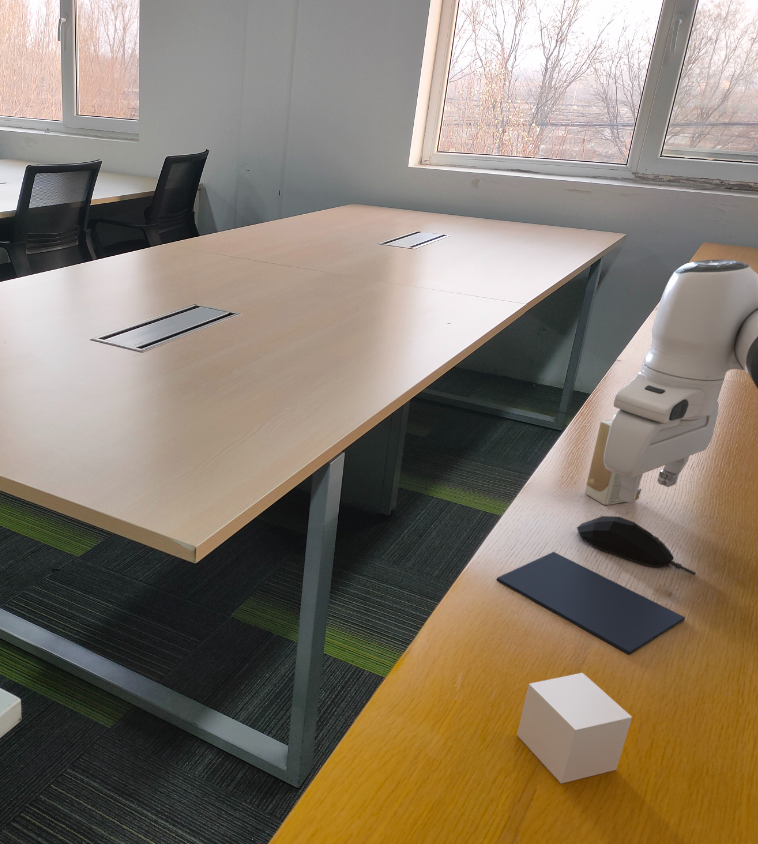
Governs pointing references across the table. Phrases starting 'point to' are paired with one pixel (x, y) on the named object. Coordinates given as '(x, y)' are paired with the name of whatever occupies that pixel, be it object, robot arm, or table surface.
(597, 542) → the gaming mouse
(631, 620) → the mouse pad
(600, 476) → the cosmetic box
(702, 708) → the table surface
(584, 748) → the white cube
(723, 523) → the table surface
